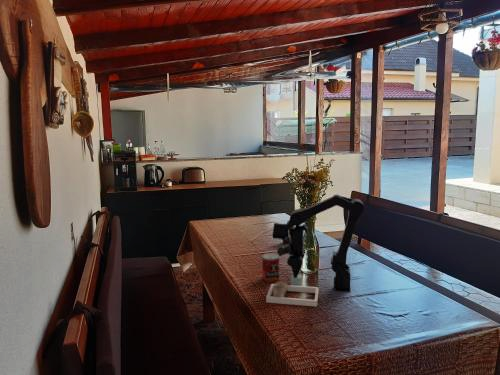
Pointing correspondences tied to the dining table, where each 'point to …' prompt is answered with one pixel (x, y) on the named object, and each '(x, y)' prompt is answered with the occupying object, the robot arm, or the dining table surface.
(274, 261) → the canned food
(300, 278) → the block teal
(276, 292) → the maple block
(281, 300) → the tray
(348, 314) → the dining table surface
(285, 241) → the coffee mug
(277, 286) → the maple block
